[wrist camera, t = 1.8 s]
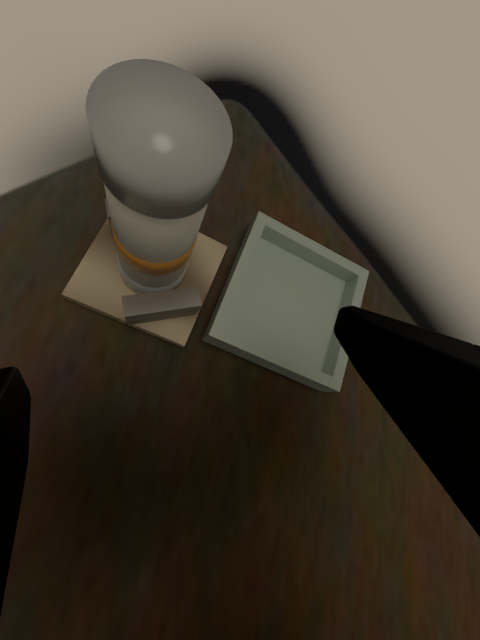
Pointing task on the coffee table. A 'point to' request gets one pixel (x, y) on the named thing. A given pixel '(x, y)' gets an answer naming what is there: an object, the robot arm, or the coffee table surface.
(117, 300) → the fuse holder
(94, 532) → the coffee table surface
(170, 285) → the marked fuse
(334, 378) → the tray
